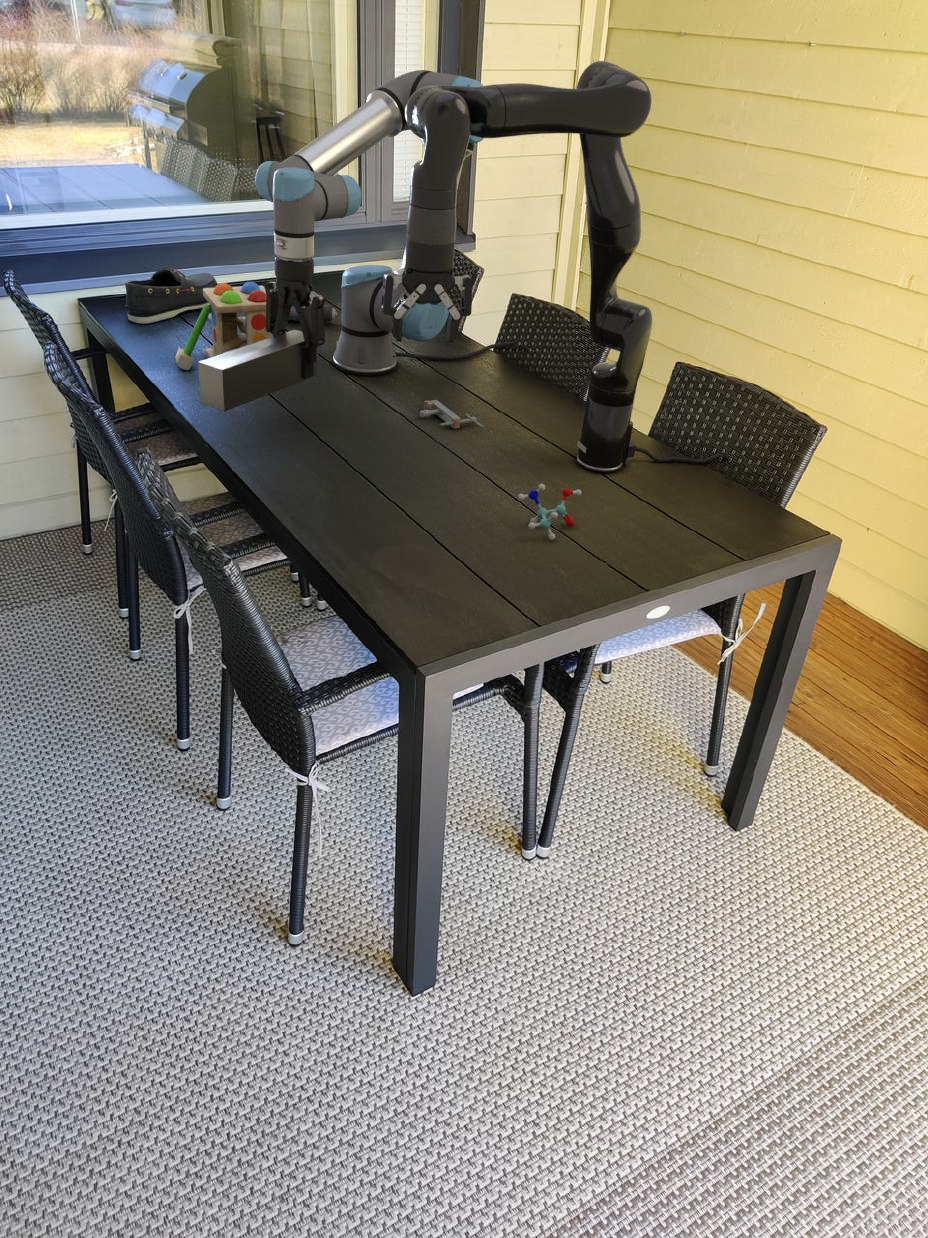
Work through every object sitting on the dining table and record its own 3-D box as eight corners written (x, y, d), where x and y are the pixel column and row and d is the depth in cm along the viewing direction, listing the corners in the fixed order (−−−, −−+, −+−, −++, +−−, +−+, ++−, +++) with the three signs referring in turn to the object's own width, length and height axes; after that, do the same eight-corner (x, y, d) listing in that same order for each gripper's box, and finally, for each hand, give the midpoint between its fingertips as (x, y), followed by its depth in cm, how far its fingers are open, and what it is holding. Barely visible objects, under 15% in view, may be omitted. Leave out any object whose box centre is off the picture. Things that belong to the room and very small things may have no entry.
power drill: (344, 304, 276) (335, 327, 259) (277, 298, 275) (264, 321, 258) (344, 285, 273) (335, 306, 256) (277, 279, 272) (264, 300, 255)
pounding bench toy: (183, 379, 220) (176, 299, 210) (169, 357, 231) (162, 280, 221) (282, 371, 230) (280, 294, 220) (264, 350, 240) (262, 276, 230)
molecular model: (578, 533, 169) (560, 478, 167) (528, 548, 172) (510, 494, 171) (592, 523, 179) (575, 471, 178) (544, 538, 183) (527, 486, 182)
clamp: (412, 401, 215) (452, 396, 220) (411, 411, 216) (451, 405, 221) (445, 428, 205) (486, 422, 209) (444, 438, 206) (485, 432, 210)
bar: (294, 367, 205) (294, 329, 201) (317, 374, 203) (317, 336, 198) (200, 403, 186) (198, 361, 181) (224, 411, 183) (222, 369, 179)
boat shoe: (237, 302, 271) (234, 263, 265) (145, 325, 247) (140, 283, 242) (203, 293, 276) (200, 255, 271) (110, 316, 253) (104, 274, 247)
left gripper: (243, 249, 190) (247, 365, 202) (320, 270, 182) (319, 389, 195) (269, 243, 195) (272, 356, 208) (345, 263, 188) (343, 380, 200)
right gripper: (388, 240, 145) (384, 348, 154) (481, 243, 148) (472, 348, 157) (380, 228, 151) (377, 332, 160) (470, 231, 154) (462, 333, 163)
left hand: (295, 372), depth 201 cm, fingers closed on bar, 6 cm apart
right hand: (424, 340), depth 159 cm, fingers open, 8 cm apart
